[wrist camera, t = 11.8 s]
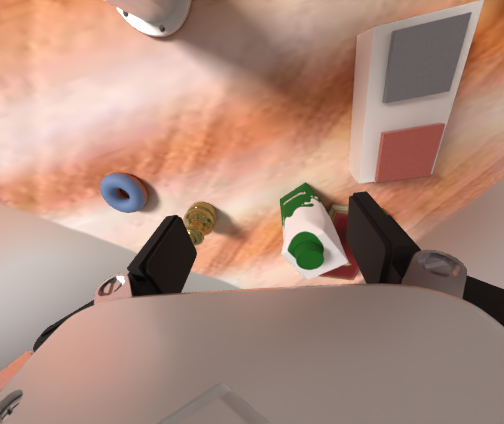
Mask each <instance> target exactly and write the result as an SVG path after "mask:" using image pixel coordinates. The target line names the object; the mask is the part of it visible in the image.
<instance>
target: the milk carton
mask: <svg viewBox="0 0 504 424" xmlns="http://www.w3.org/2000/svg"><path fill="white" fill-rule="evenodd" d="M280 206H281V215H282V226H283V238H284V243H283V248H282V255H283V256H284V257H285V258H286V259H287V260H288V261H289V262H290V263H291V264H292V266H293V267H294V268H295V269H296V270H297V271H298V272H299V273H301V274H302V275H303V276H304V277H305V278H306V279H307V280H309V279H312V278H314V277H316V276H319V275H321V274H323V273H326V272H328V271H330V270H332V269H335V268H337V267H339V266H342V265H344V264H346V263H349V262H348V259H347V257H346V255H345V252H344V250H343V247H342V245H341V243H340V239H339V236H338V235H337V232H336V230H335V227H334V225H333V223H332V221H331V218H330V216H329V214H328V211H327V209H326V207H325V206H324V204H323V203H322V202H321V200H320V199H319V198H318V197H317V195H316V194H315V193H314V192H313V191H312V189H311V188H310V187H309V186H308V185H307V184H306V182H305V183H304V184H302V185H301V186H299V187H298V188H296V189H295V190H293V191H292V192H290V193H289V194H287V195H286V196H284V197H283V198H281V199H280Z"/></svg>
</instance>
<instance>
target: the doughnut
mask: <svg viewBox="0 0 504 424" xmlns="http://www.w3.org/2000/svg"><path fill="white" fill-rule="evenodd" d="M120 188H121V189H123V190H125V191H126V192H127V193H128V194H129V196H130V198H127V197H125V196H124V195H123V194H122V193H121V192H120ZM100 190H101V194H102V196H103V198H104V199H105V201H106V202H107V203H108V204H109V205H110V206H112V207H113V208H114V209H116V210H119V211H121V212H126V213H131V212H136V211H138V210H140V209H142V208H143V207H144V206H145V204H146V202H147V192H146V189H145V187H144V186H143V184H142V183H141V182H140V181H139V180H138V179H136V178H135V177H133V176H131V175H129V174H125V173H113V174H110V175H108V176H106V177H105V178H104V179H103V181H102V182H101V187H100Z"/></svg>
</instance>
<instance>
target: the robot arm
mask: <svg viewBox="0 0 504 424" xmlns="http://www.w3.org/2000/svg"><path fill="white" fill-rule="evenodd" d="M102 1H104V2H106V3H108V4H110V5H112V6H114V7H116V9H117V10H118V12H119V13H120V14H121V15H122V17H123V18H124V19H125V20H126V21H127V22H128V23H129V24H130V25H131V26H132V27H134V28H135V29H137V30H138V31H140V32H142V33H144V34H146V35H149V36H153V37H165V36H169V35H171V34H173V33H175V32H176V31H177V30H178V29H179V28H180V27H181V26H182V25H183V23H184V22H185V20H186V18H187V16H188V13H189V10H190V6H191V2H192V0H102ZM128 13H129V16H128ZM163 28H165V32H164V31H163ZM346 239H347V243H348V245H349V248H350V250H351V252H352V254H353V256H354V258H355V260H356V262H357V264H358V267H359V269H360V271H361V273H362V275H363V277H364V279H365V281H366V283H367V284H341V285H317V286H297V287H277V288H258V289H240V290H223V291H206V292H189V293H181V292H182V289H183V287H184V284H185V282H186V280H187V277H188V275H189V273H190V270H191V268H192V266H193V263H194V261H195V258H196V256H197V252H196V249H195V247H194V244H193V242H192V240H191V238H190V236H189V233H188V231H187V229H186V227H185V224H184V222H183V220H182V218H181V217H179V216H178V215H173V216H167V217H166V218H165V219H164V220H163V222H162V223H161V224H160V226H159V227H158V228H157V229H156V231H155V232H154V233H153V235H152V236H151V237H150V239H149V240H148V241H147V242H146V244H145V245H144V246H143V248H142V249H141V250H140V252H139V253H138V254H137V256H136V257H135V258H134V260H133V261H132V262H131V264H130V265H129V266H128V267H127V269H128V271H129V274H128V275H127V274H125V273H119V274H116V275H113V276H111V277H109V278H108V279H106V280H105V281H104V282H102V283H101V284H100V285H99V286H98V288H97V289H96V291H95V294H94V300H93V301H91V302H89V303H88V304H86V305H84V306H83V307H81V308H79V309H78V310H76V311H74V312H73V313H71V314H69V315H68V316H66V317H64V318H63V319H61V320H60V321H58V322H56V323H55V324H53V325H51V326H49V327H48V328H47V329H46V330H45V331H44V332H43V333H42V334H41V336H40V337H39V338H38V339H37V341H36V342H35V344H34V347H33V351H32V352H30V351H29V350H28V351H26V352H25V353H24V354H23V355H21V356H20V357H19V358H17V359H16V360H15V361H14V362H12V363H11V364H10V365H9V366H7V367H6V368H5V369H4V370H2V371H1V372H0V424H504V289H501V288H499V287H496V286H493V285H491V284H488V283H486V282H483V281H480V280H478V279H475V278H472V277H469V276H467V269H466V267H465V266H464V265H463V263H462V262H460V261H459V260H458V259H457V258H455V257H453V256H451V255H449V254H446V253H444V252H440V251H436V250H421V249H420V248H419V247H418V246H417V245H416V244H415V242H414V241H413V240H412V239H411V238H410V237H409V236H408V235H407V233H406V232H405V231H404V230H403V229H402V228H401V227H400V226H399V224H398V223H397V222H396V221H395V220H394V219H393V218H392V217H391V216H390V215H387V214H386V213H385V212H384V211H383V210H382V209H381V207H380V206H379V205H378V204H377V203H376V202H375V200H374V199H373V198H372V197H371V196H370V195H369V194H368V192H358V193H354V194H353V196H350V197H349V207H348V220H347V234H346Z"/></svg>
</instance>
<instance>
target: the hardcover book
mask: <svg viewBox="0 0 504 424" xmlns="http://www.w3.org/2000/svg"><path fill="white" fill-rule="evenodd" d="M348 207H349V206H344V205H335V204H332V206H331V209H330V212H329V216H330V218H331V221H332V223H333V225H334V227H335V230H336V232H337V235H338V236H339V239H340V243H341V245H342V247H343V250H344V252H345V255H346V257H347V259H348V262H349V263H346V264H344V265H342V266H339V267H337V268H335V269H332V270H330V271H328V272H326V273H323V274H321V275H319V276H322V277H330V278H338V279H347V280H354V279H355V277H356V275H357V273H358V271H359V270H360V269H359V267H358V264H357V262H356V260H355V258H354V256H353V254H352V252H351V250H350V248H349V245H348V243H347V239H346V234H347V220H348ZM381 209H382V210H383V211H384V212H385V213H386V214H387V215H388V213H387V212H386V211H385V210H384V209H383V208H381Z"/></svg>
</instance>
